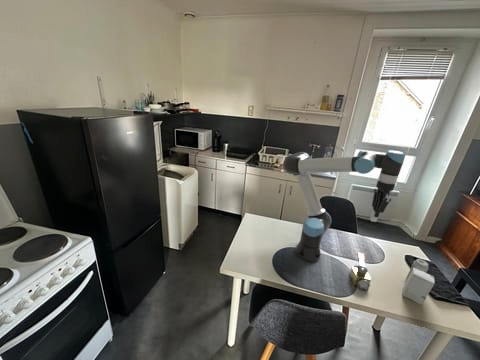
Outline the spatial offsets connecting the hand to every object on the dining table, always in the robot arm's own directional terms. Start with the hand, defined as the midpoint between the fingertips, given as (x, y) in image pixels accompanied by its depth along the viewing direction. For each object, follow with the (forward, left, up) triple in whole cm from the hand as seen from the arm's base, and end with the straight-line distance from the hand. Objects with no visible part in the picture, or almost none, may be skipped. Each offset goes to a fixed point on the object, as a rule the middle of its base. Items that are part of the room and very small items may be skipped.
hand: (373, 220), depth 112 cm
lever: (-3, -9, -24) cm, 26 cm away
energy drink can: (+24, -10, -31) cm, 40 cm away
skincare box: (+19, -19, -31) cm, 41 cm away
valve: (-5, -14, -30) cm, 34 cm away
